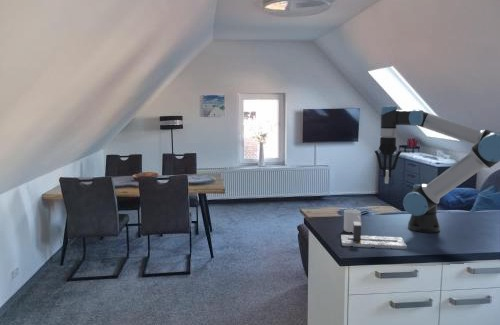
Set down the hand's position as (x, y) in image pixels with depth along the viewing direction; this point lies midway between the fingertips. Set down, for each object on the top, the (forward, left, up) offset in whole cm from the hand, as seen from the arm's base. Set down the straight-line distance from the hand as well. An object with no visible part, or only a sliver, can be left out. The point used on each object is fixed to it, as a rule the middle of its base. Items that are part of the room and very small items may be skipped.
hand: (386, 183), depth 212 cm
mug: (+16, +6, -25) cm, 30 cm away
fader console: (+9, +24, -24) cm, 35 cm away
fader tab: (+16, +24, -22) cm, 37 cm away
